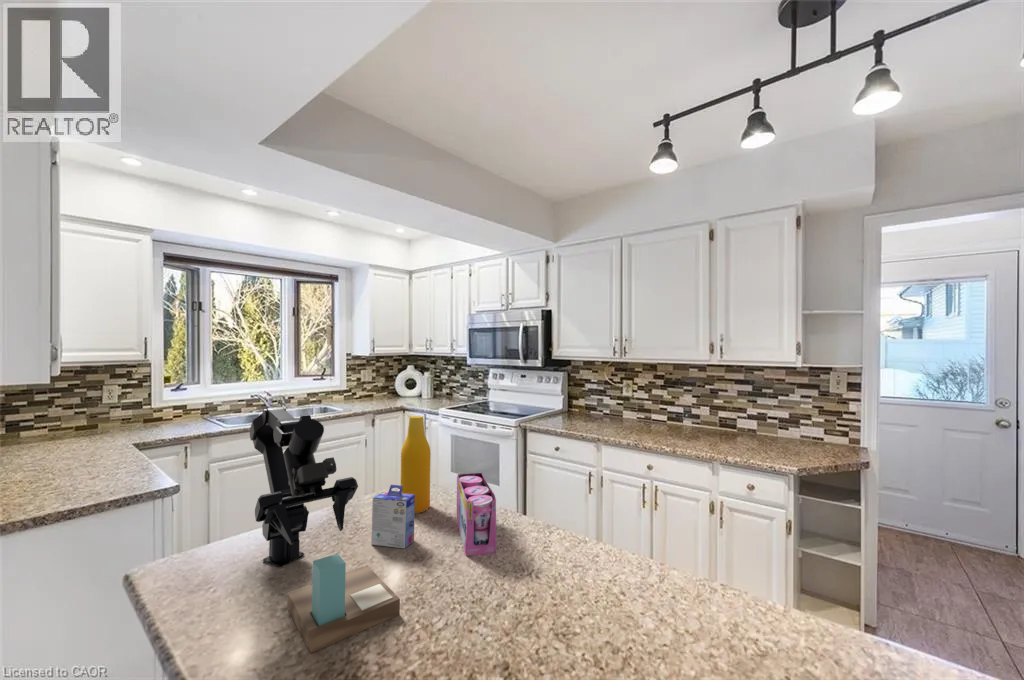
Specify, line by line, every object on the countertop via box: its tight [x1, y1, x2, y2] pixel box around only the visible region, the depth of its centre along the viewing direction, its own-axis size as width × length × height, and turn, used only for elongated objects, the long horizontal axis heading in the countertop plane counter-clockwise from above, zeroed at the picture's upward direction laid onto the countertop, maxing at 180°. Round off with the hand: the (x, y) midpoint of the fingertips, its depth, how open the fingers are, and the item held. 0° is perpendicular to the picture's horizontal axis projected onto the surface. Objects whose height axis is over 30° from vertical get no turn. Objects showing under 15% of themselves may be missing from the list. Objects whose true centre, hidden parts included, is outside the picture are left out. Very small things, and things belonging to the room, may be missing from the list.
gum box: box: [456, 472, 497, 556], centre depth 115 cm, size 24×8×14 cm, turn 13°
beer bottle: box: [400, 415, 432, 514], centre depth 133 cm, size 9×9×29 cm
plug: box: [311, 553, 347, 627], centre depth 76 cm, size 4×4×12 cm
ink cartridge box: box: [370, 484, 415, 549], centre depth 111 cm, size 10×6×14 cm, turn 78°
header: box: [286, 565, 401, 654], centre depth 82 cm, size 16×16×3 cm
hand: (317, 536), depth 83 cm, fingers open, 9 cm apart
